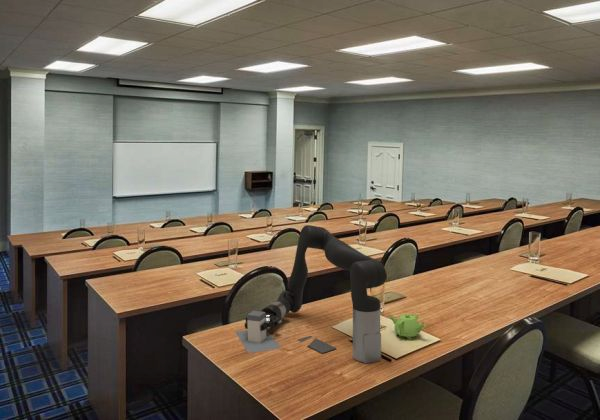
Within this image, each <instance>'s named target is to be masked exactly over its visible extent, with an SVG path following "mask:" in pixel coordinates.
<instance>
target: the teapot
mask: <svg viewBox="0 0 600 420" xmlns="http://www.w3.org/2000/svg"><path fill="white" fill-rule="evenodd" d="M389 318H390V320H391V321H392V323H393V324H394V328H393V329H394V332H395V333H396V334H397V336H398V335H399V336H402V337H405V338H406V339H407V338H408V339H407V340H412V339H411V338H413V337H418V335H419V334H420V333H421V330H422V329H423V328H424V327H425V326H426V325H427V324H426V323H425V322H424V321H422V322H421V323H419V321H418V319H419V315H418V314H416V313H415V314H414V315H411V314H410V313H404V314H403V315H400V316H399V317H398V318H397V319H396V317H395V315H394V314H392V315H390V316H389Z"/></svg>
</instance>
